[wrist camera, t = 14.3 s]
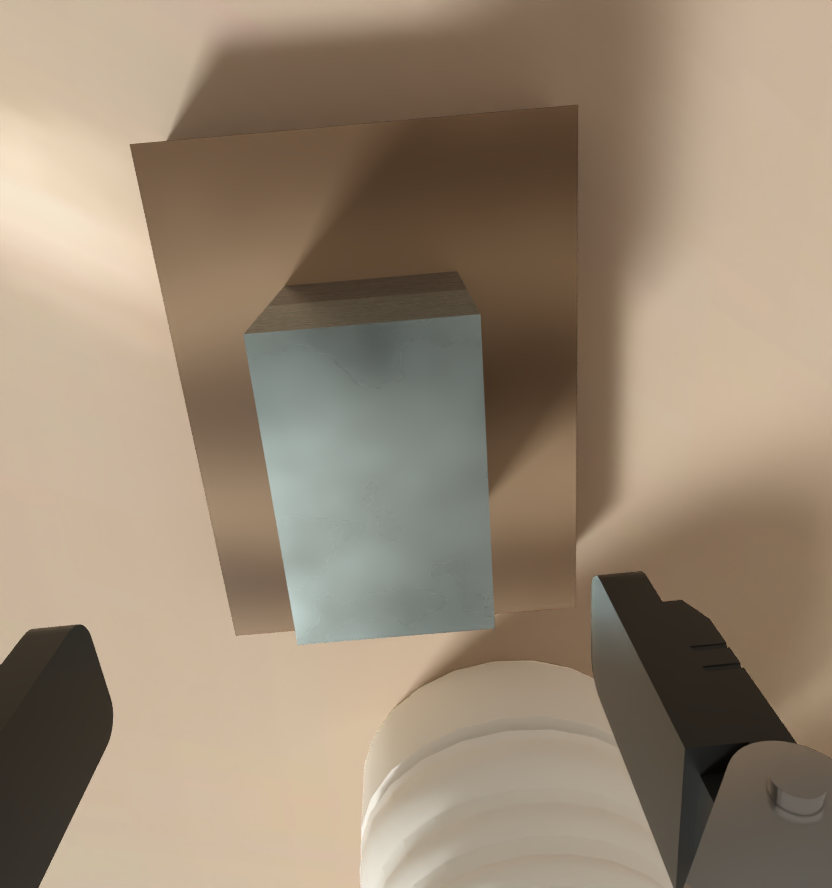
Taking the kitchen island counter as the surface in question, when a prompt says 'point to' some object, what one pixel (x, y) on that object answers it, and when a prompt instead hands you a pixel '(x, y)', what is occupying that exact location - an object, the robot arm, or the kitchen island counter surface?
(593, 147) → the kitchen island counter surface
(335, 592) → the block
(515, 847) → the honey pot
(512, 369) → the walnut stand
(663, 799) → the robot arm
